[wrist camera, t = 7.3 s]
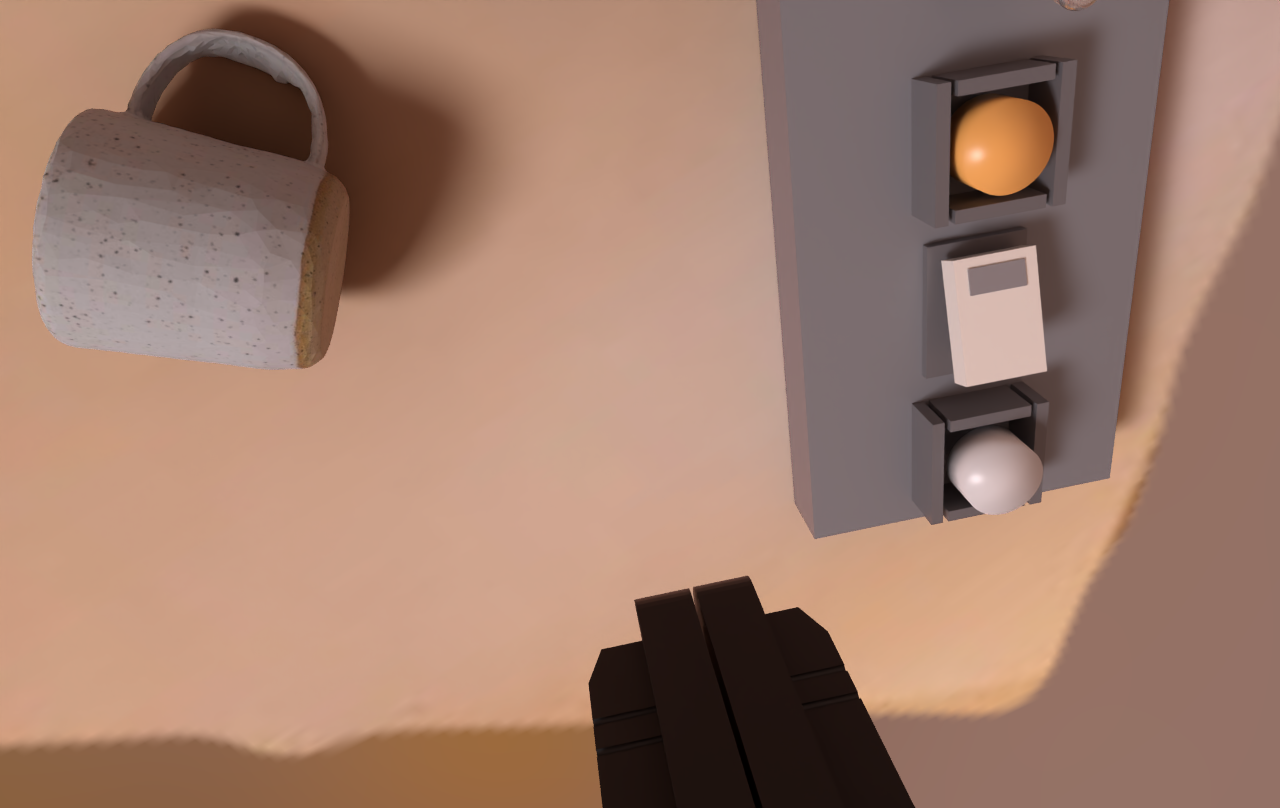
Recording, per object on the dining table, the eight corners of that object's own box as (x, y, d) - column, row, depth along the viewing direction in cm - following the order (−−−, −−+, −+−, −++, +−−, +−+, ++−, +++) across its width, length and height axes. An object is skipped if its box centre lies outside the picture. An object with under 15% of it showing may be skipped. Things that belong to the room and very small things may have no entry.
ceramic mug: (346, 336, 34) (306, 419, 27) (124, 300, 32) (21, 379, 26) (375, 61, 30) (337, 76, 23) (123, 2, 28) (0, 0, 22)
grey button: (947, 433, 35) (968, 454, 33) (1021, 418, 35) (1045, 439, 33) (945, 498, 36) (965, 521, 35) (1017, 483, 36) (1040, 506, 35)
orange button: (941, 101, 30) (965, 108, 28) (1028, 86, 30) (1057, 91, 28) (940, 192, 31) (963, 203, 30) (1022, 176, 31) (1050, 186, 30)
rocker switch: (941, 260, 32) (953, 260, 31) (1021, 245, 32) (1036, 245, 31) (954, 383, 33) (967, 387, 32) (1033, 367, 33) (1048, 371, 32)
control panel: (744, -158, 29) (787, -185, 24) (1136, -220, 29) (1248, -257, 25) (794, 503, 41) (829, 565, 36) (1071, 446, 42) (1138, 501, 37)
